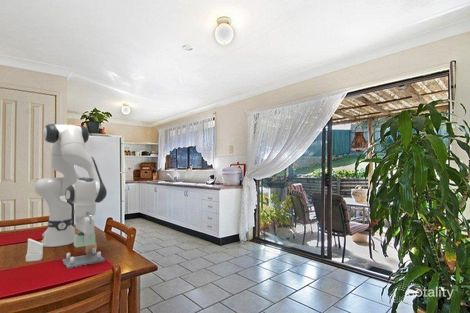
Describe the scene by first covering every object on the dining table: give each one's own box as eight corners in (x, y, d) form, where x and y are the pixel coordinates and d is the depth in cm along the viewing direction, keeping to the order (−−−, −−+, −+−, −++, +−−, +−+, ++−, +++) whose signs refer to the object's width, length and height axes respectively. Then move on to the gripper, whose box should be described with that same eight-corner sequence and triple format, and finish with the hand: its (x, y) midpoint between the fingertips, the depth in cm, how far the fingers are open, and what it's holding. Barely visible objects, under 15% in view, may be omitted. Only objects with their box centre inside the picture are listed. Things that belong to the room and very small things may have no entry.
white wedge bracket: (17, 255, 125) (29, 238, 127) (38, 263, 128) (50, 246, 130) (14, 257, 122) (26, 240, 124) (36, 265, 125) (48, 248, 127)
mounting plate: (62, 261, 124) (62, 252, 124) (96, 254, 134) (97, 246, 134) (67, 268, 114) (68, 259, 114) (104, 261, 124) (104, 252, 125)
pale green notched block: (73, 245, 124) (74, 233, 124) (92, 242, 129) (92, 230, 129) (76, 247, 120) (76, 235, 120) (95, 244, 125) (95, 232, 126)
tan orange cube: (84, 253, 137) (84, 243, 137) (94, 251, 140) (95, 241, 140) (86, 255, 133) (87, 245, 133) (97, 253, 136) (97, 243, 137)
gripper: (98, 213, 120) (97, 243, 119) (87, 208, 135) (86, 235, 134) (83, 214, 116) (81, 246, 115) (73, 209, 131) (72, 237, 130)
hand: (84, 240), depth 124 cm, fingers closed on pale green notched block, 5 cm apart
